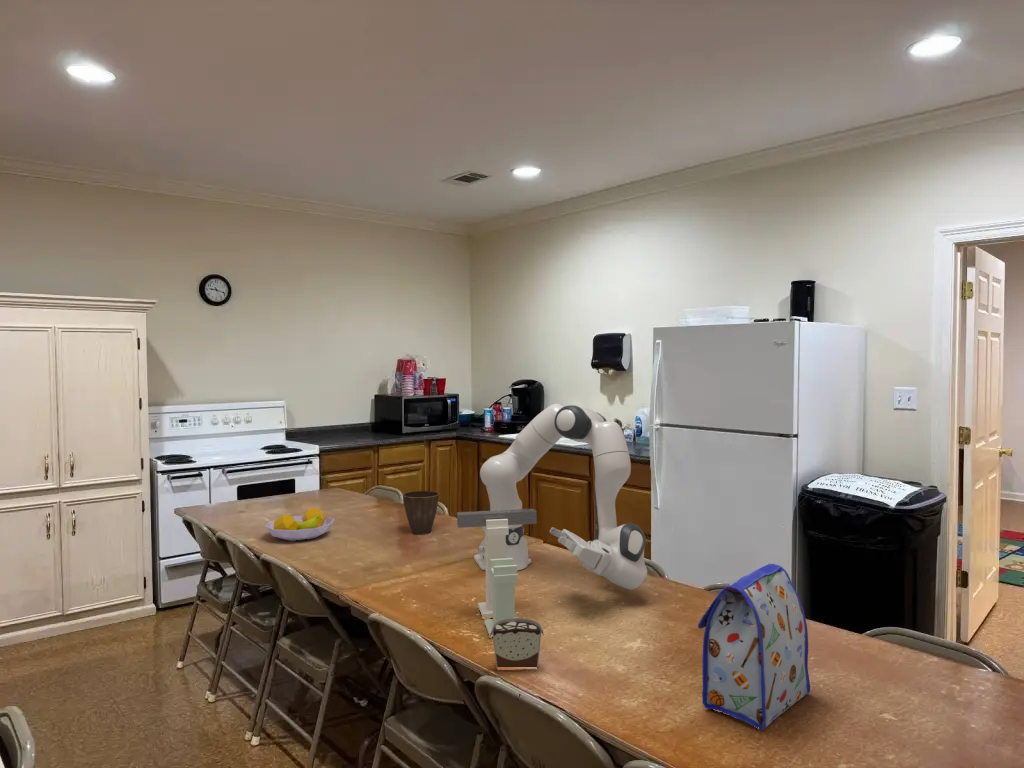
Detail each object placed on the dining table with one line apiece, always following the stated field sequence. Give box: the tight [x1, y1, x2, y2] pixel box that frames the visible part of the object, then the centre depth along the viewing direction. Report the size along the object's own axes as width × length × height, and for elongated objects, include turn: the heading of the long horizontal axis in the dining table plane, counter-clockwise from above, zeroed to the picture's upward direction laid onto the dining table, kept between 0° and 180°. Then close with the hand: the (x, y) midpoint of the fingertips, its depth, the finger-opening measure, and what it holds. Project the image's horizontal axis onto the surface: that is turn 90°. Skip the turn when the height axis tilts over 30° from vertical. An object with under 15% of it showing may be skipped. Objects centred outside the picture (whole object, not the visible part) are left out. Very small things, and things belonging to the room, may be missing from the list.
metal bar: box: [456, 508, 538, 529], centre depth 191 cm, size 22×4×4 cm, turn 100°
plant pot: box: [402, 490, 440, 535], centre depth 282 cm, size 15×15×16 cm
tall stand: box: [477, 519, 509, 618], centre depth 191 cm, size 9×9×27 cm
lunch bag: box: [697, 563, 811, 731], centre depth 141 cm, size 23×17×27 cm
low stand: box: [483, 558, 519, 637], centre depth 178 cm, size 9×9×18 cm
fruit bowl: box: [265, 506, 335, 542], centre depth 276 cm, size 28×27×11 cm
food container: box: [490, 617, 545, 668], centre depth 158 cm, size 12×6×10 cm, turn 92°
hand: (554, 534), depth 194 cm, fingers open, 8 cm apart
